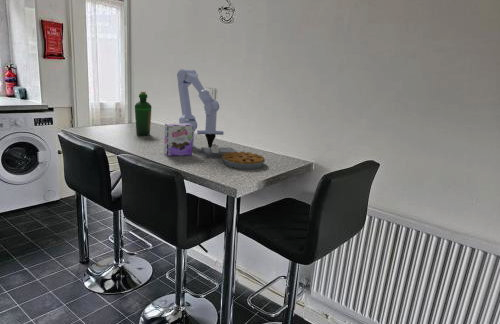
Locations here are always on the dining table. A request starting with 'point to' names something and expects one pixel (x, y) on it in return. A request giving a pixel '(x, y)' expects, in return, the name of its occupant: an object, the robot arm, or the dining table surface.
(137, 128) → the bottle
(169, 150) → the candy box
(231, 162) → the pie
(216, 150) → the slider front
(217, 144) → the slider back
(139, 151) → the dining table surface
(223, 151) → the control box
